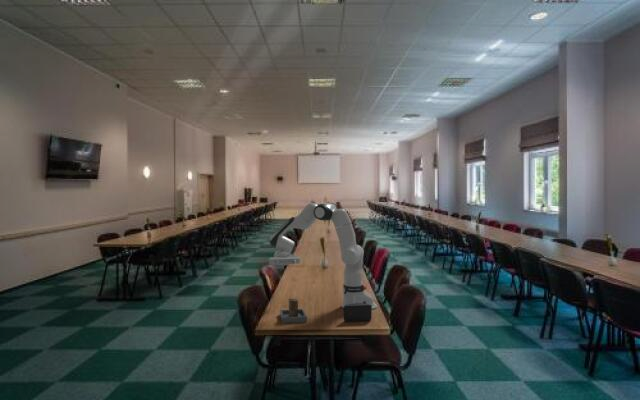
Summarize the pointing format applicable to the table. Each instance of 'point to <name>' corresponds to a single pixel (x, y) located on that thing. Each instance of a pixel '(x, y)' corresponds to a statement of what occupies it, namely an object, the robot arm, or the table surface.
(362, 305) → the blue scroll wheel mouse
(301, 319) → the tray
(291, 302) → the walnut block
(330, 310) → the table surface
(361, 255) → the robot arm
